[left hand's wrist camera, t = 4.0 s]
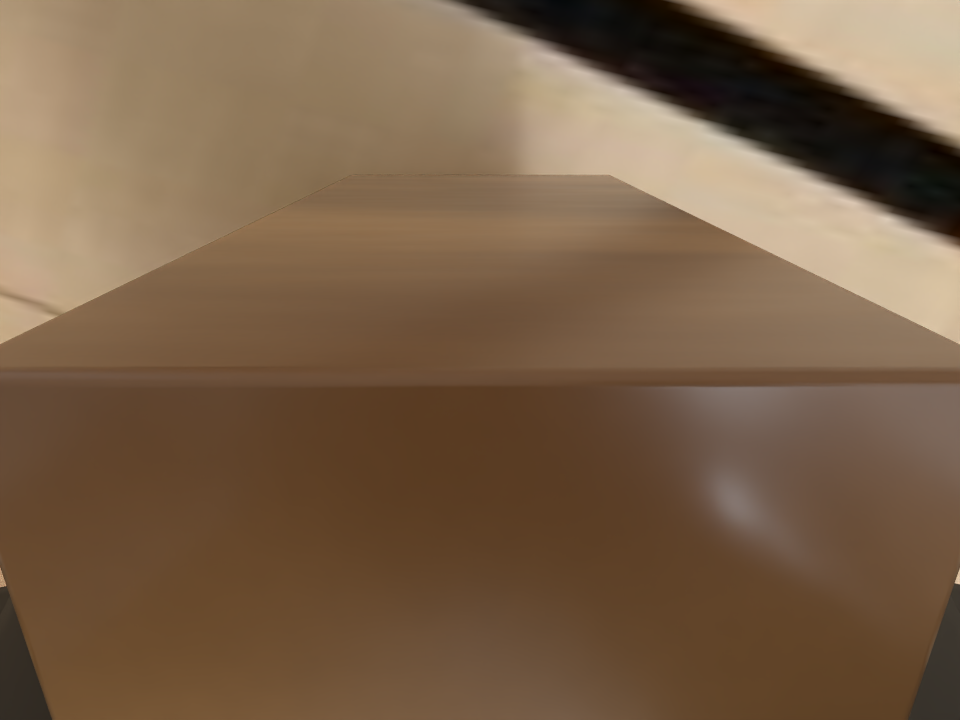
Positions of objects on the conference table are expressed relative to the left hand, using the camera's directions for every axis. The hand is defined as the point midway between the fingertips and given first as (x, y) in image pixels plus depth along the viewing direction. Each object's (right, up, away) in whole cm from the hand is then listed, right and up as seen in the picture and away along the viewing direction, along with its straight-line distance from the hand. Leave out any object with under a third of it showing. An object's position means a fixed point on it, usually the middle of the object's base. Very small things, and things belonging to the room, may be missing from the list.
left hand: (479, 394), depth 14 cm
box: (0, -7, +5) cm, 9 cm away
